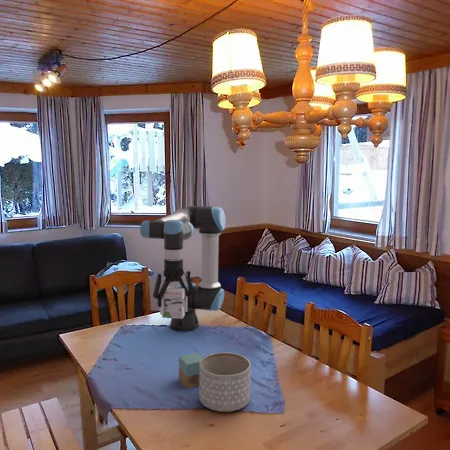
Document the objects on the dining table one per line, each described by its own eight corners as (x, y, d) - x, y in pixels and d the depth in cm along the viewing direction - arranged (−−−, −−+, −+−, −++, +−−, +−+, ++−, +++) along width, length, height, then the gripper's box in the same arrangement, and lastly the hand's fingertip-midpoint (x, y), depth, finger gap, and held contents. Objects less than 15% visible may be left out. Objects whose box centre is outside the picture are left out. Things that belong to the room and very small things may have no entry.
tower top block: (197, 364, 173) (197, 352, 172) (205, 372, 166) (205, 360, 165) (179, 367, 169) (179, 356, 168) (186, 376, 162) (186, 364, 161)
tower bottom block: (197, 375, 173) (197, 364, 173) (205, 384, 166) (205, 372, 165) (178, 379, 170) (178, 368, 169) (186, 389, 163) (186, 377, 162)
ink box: (161, 317, 171) (161, 289, 169) (164, 313, 176) (164, 286, 174) (182, 319, 170) (182, 290, 168) (185, 314, 175) (185, 287, 173)
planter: (210, 383, 167) (210, 349, 165) (255, 392, 160) (256, 357, 158) (190, 408, 149) (190, 370, 147) (240, 420, 143) (241, 380, 141)
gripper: (195, 254, 177) (195, 306, 181) (144, 259, 168) (144, 313, 171) (202, 258, 171) (202, 311, 174) (149, 263, 161) (149, 319, 164)
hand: (173, 312), depth 172 cm, fingers closed on ink box, 9 cm apart
